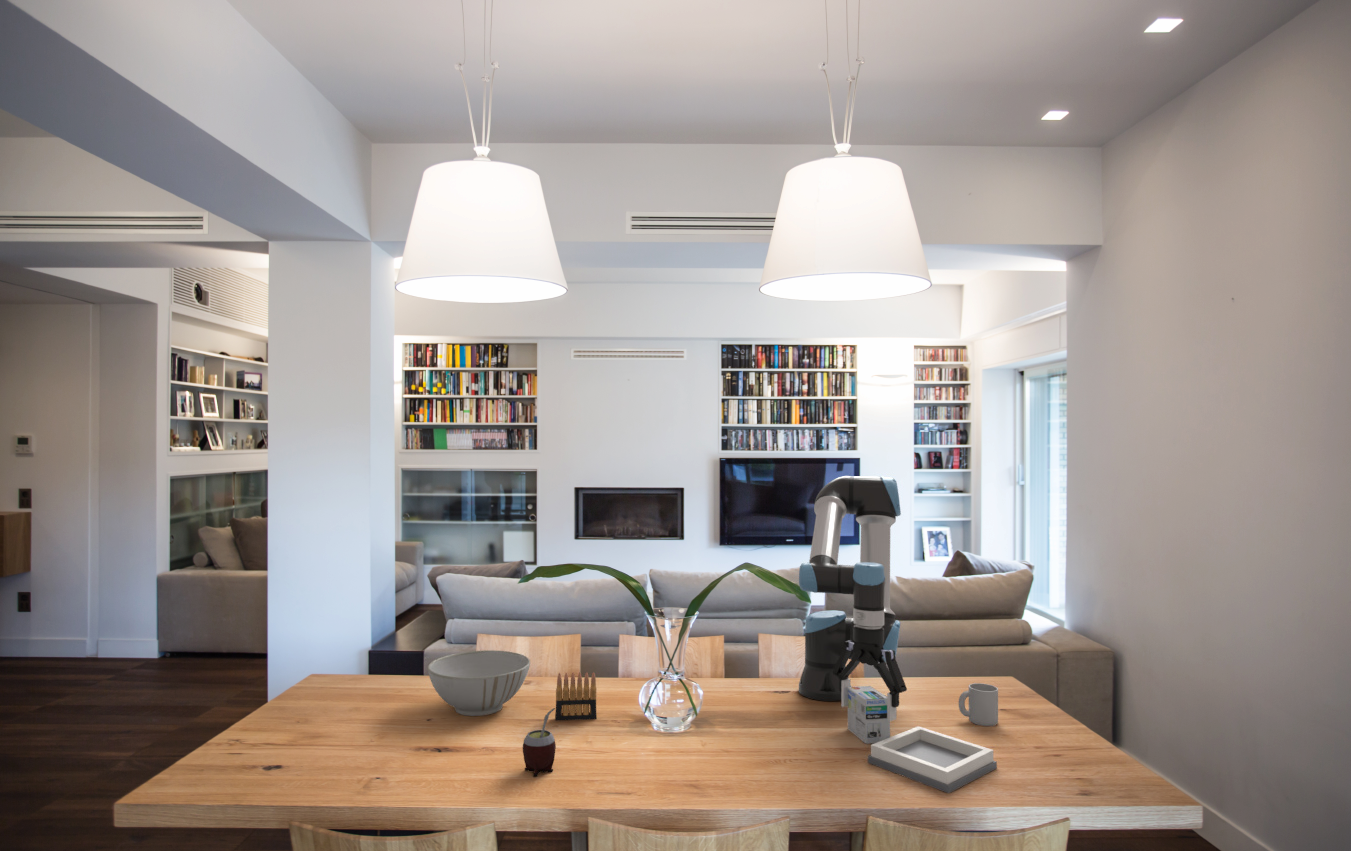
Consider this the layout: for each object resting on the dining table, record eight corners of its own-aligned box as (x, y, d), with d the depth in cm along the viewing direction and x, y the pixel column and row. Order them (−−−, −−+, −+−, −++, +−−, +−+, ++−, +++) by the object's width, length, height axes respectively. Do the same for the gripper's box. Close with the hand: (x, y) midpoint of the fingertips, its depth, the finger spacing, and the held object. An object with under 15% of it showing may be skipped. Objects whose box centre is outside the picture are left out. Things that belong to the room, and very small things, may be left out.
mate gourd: (528, 763, 173) (529, 695, 174) (562, 765, 172) (563, 697, 173) (517, 777, 166) (518, 706, 166) (553, 779, 165) (554, 708, 165)
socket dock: (867, 762, 176) (867, 744, 176) (917, 741, 188) (917, 725, 189) (948, 793, 160) (948, 773, 160) (996, 768, 173) (996, 750, 173)
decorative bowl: (517, 727, 196) (518, 678, 196) (411, 725, 196) (412, 676, 196) (538, 693, 222) (538, 650, 223) (445, 691, 223) (446, 649, 223)
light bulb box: (891, 742, 188) (891, 697, 188) (865, 744, 186) (865, 699, 187) (870, 727, 198) (870, 684, 198) (846, 729, 197) (846, 686, 197)
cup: (1002, 727, 199) (1002, 691, 200) (963, 726, 200) (963, 691, 200) (992, 717, 207) (991, 683, 207) (954, 716, 207) (954, 682, 207)
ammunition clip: (555, 720, 200) (555, 674, 201) (555, 718, 202) (555, 671, 202) (596, 719, 202) (597, 672, 202) (596, 716, 204) (597, 670, 204)
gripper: (819, 619, 200) (818, 703, 199) (903, 637, 181) (903, 729, 180) (837, 616, 205) (837, 697, 204) (921, 632, 186) (921, 723, 185)
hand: (868, 712), depth 192 cm, fingers open, 13 cm apart
